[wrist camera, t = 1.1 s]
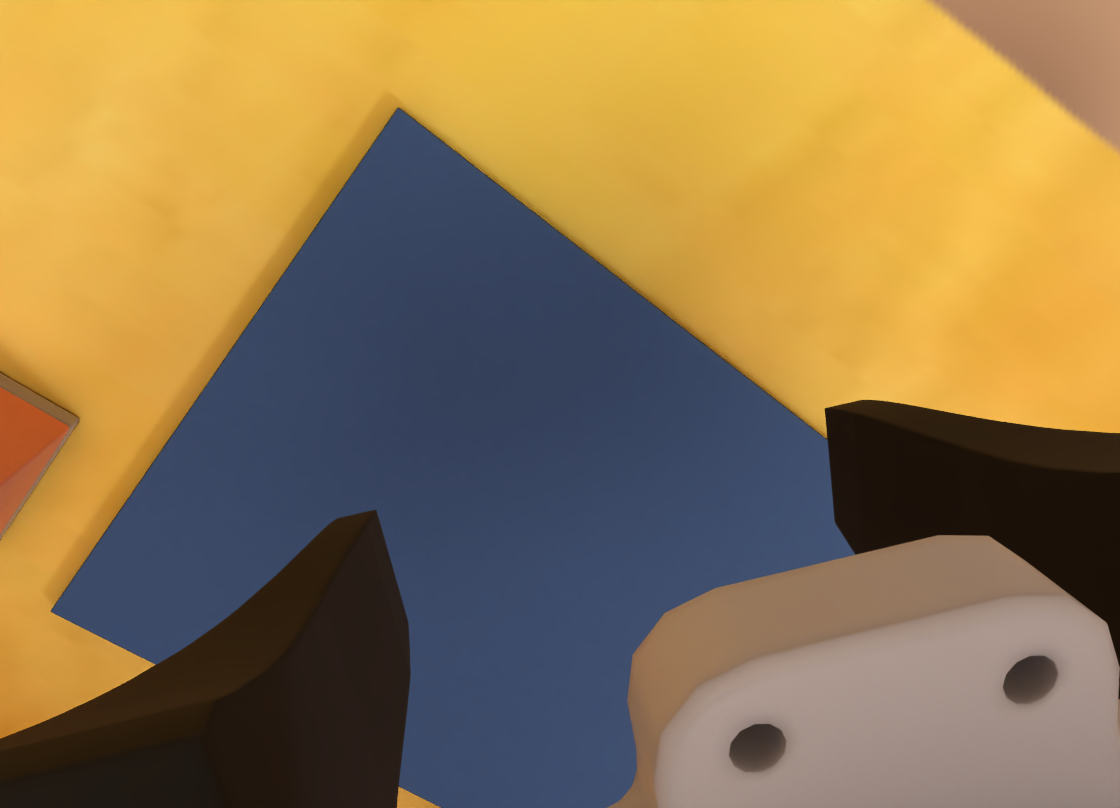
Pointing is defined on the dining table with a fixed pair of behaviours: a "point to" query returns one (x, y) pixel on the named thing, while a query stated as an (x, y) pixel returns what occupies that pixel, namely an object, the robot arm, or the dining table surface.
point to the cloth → (470, 475)
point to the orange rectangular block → (26, 444)
